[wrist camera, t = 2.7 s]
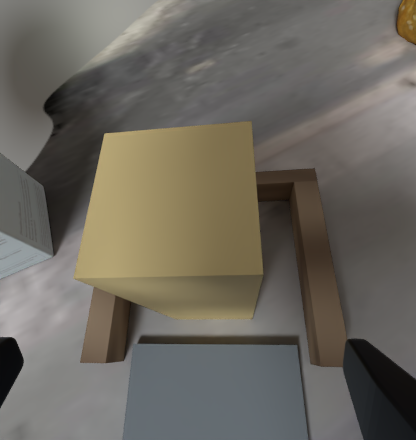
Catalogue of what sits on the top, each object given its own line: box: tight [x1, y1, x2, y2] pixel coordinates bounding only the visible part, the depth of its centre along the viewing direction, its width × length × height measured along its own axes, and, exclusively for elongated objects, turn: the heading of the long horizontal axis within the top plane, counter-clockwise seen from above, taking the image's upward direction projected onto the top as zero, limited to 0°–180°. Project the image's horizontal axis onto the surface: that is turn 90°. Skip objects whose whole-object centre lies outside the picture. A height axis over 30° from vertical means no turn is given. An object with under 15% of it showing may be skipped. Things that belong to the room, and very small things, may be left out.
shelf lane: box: [80, 168, 347, 367], centre depth 18 cm, size 12×14×2 cm
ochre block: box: [73, 121, 263, 319], centre depth 13 cm, size 5×5×12 cm
